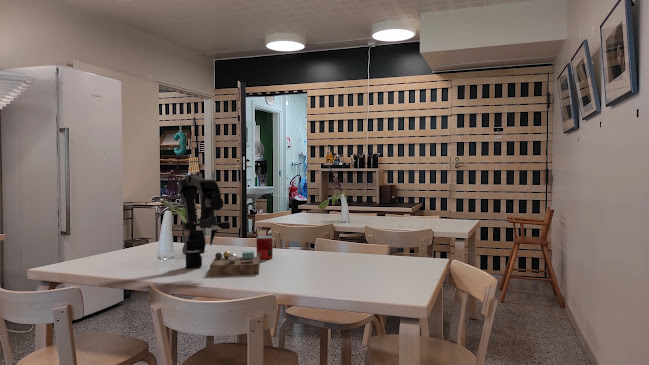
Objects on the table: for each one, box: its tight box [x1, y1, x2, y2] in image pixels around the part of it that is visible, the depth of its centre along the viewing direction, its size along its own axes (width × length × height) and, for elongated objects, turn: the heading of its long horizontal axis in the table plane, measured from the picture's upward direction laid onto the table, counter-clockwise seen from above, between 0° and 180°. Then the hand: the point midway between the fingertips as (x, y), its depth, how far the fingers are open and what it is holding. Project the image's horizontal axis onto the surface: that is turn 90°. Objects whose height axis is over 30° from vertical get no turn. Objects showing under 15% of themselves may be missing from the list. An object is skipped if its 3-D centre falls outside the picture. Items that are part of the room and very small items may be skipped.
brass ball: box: [222, 250, 231, 259], centre depth 209 cm, size 3×3×3 cm
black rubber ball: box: [214, 252, 223, 259], centre depth 207 cm, size 3×3×3 cm
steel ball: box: [228, 253, 238, 263], centre depth 198 cm, size 4×4×4 cm
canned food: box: [256, 235, 273, 261], centre depth 233 cm, size 8×8×11 cm
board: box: [209, 256, 261, 277], centre depth 203 cm, size 20×18×4 cm
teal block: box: [241, 250, 255, 259], centre depth 209 cm, size 5×5×2 cm
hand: (207, 245), depth 197 cm, fingers closed
